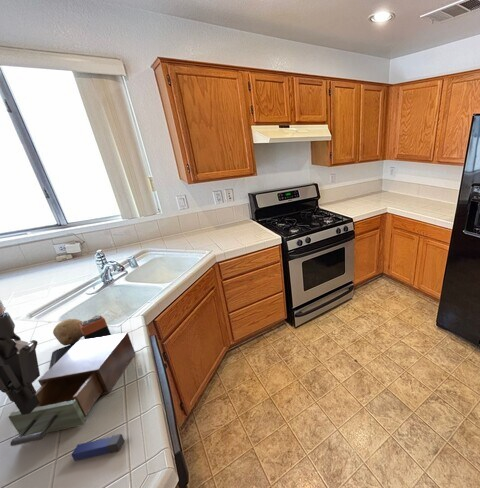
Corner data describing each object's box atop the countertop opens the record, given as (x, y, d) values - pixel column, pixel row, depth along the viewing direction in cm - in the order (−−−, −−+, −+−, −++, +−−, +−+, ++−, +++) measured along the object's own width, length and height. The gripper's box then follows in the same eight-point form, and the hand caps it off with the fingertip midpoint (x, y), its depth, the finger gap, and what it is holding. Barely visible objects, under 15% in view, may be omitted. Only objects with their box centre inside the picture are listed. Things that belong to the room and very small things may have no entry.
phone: (81, 340, 99) (79, 362, 88) (82, 343, 99) (81, 364, 88) (52, 351, 94) (47, 375, 83) (53, 353, 94) (48, 378, 83)
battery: (112, 338, 101) (103, 316, 98) (90, 348, 96) (80, 325, 93) (108, 334, 103) (99, 312, 100) (86, 344, 98) (76, 322, 95)
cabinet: (109, 393, 76) (98, 369, 73) (51, 405, 74) (37, 380, 71) (135, 353, 92) (127, 332, 89) (88, 362, 89) (78, 340, 86)
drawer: (67, 448, 61) (54, 426, 59) (-1, 463, 59) (-17, 441, 57) (115, 377, 81) (107, 358, 79) (66, 386, 79) (56, 367, 76)
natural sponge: (90, 331, 106) (81, 310, 103) (92, 341, 100) (83, 319, 97) (60, 342, 100) (49, 321, 97) (60, 354, 94) (49, 331, 91)
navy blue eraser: (74, 461, 59) (70, 454, 59) (81, 450, 62) (77, 443, 61) (119, 450, 61) (116, 443, 60) (124, 440, 63) (121, 433, 62)
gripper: (33, 305, 56) (75, 388, 63) (-41, 315, 54) (12, 400, 61) (-1, 326, 49) (51, 417, 56) (-87, 339, 47) (-21, 431, 54)
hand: (31, 408), depth 59 cm, fingers closed
